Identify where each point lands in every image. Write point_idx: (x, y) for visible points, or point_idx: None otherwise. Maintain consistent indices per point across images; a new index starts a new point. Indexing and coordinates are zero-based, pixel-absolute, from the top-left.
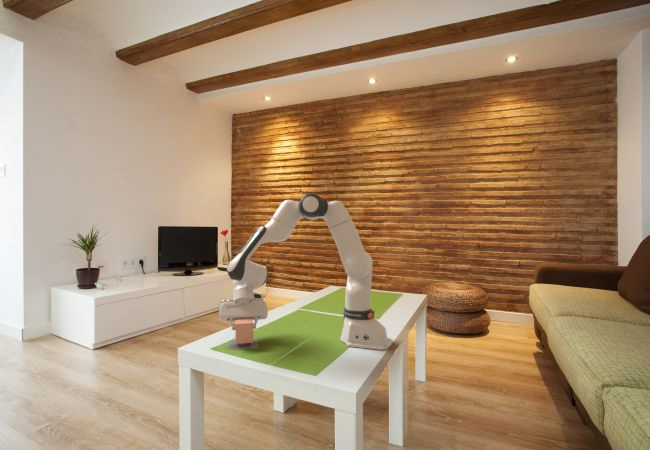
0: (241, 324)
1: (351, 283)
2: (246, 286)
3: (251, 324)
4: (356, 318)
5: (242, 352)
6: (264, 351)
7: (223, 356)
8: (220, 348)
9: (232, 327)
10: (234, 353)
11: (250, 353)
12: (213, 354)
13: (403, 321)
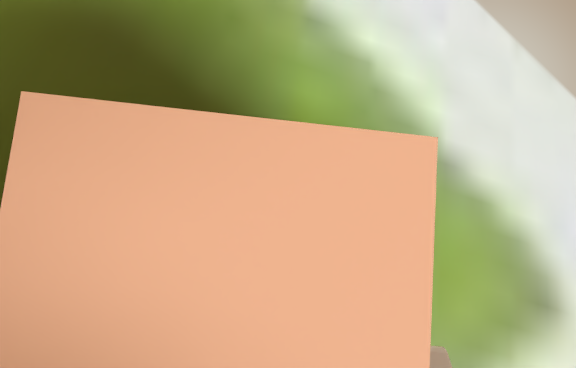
0: (314, 127)
1: None
2: None
3: (82, 104)
4: None
5: (269, 99)
6: (43, 54)
7: (450, 60)
8: (472, 275)
9: (439, 353)
10: (347, 98)
11: (196, 49)
12: (536, 136)
13: None
